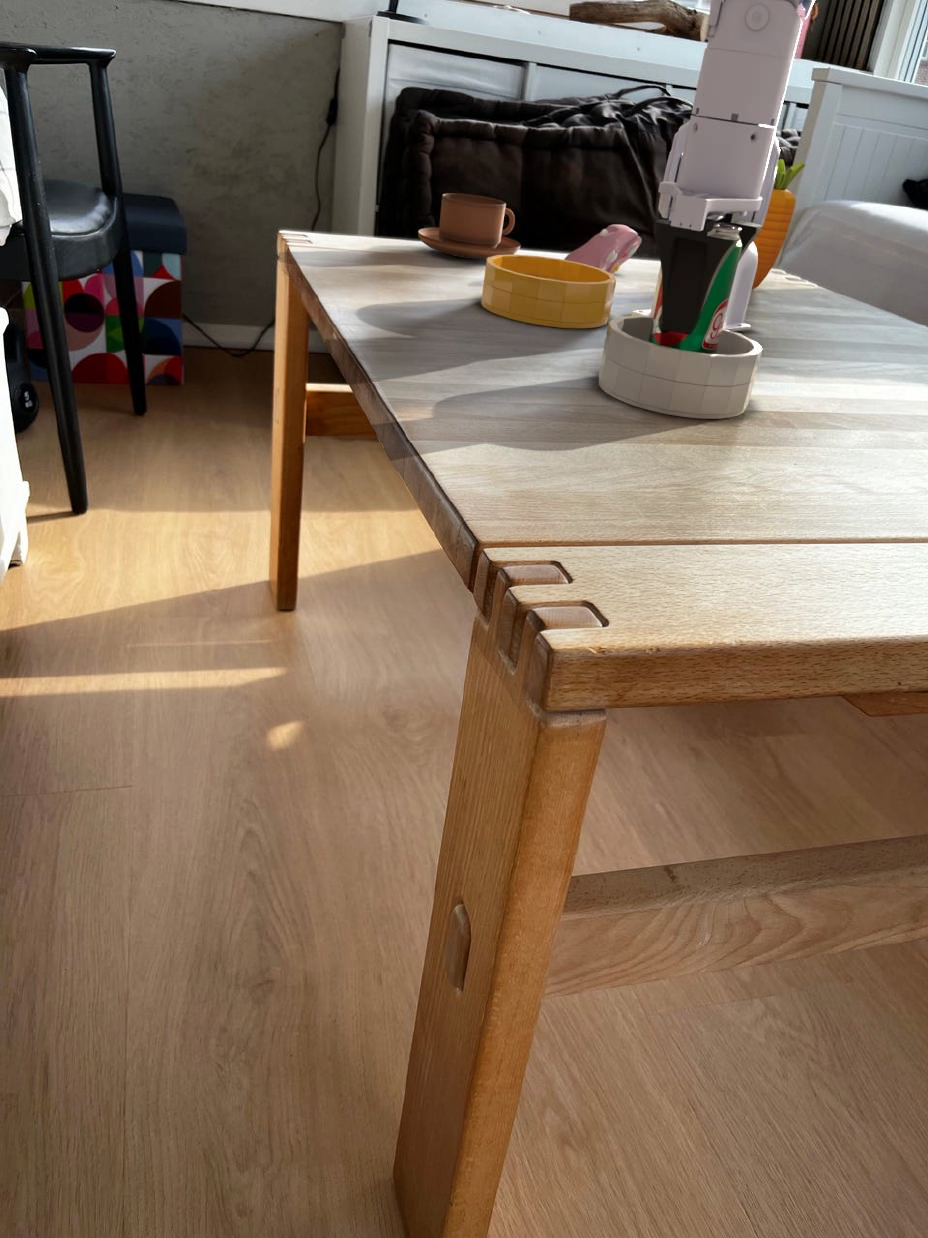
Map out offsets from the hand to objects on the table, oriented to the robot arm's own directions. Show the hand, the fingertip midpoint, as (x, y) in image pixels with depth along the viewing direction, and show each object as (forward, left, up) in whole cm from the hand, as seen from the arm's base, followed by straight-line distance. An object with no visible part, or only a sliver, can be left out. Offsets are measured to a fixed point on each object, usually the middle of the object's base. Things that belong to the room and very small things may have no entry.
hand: (687, 325), depth 75 cm
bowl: (-10, -23, -5) cm, 26 cm away
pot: (0, 0, -5) cm, 5 cm away
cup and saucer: (-22, -47, -5) cm, 52 cm away
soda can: (0, 0, -5) cm, 5 cm away
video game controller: (-32, -35, -5) cm, 48 cm away
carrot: (-49, -25, -5) cm, 55 cm away
